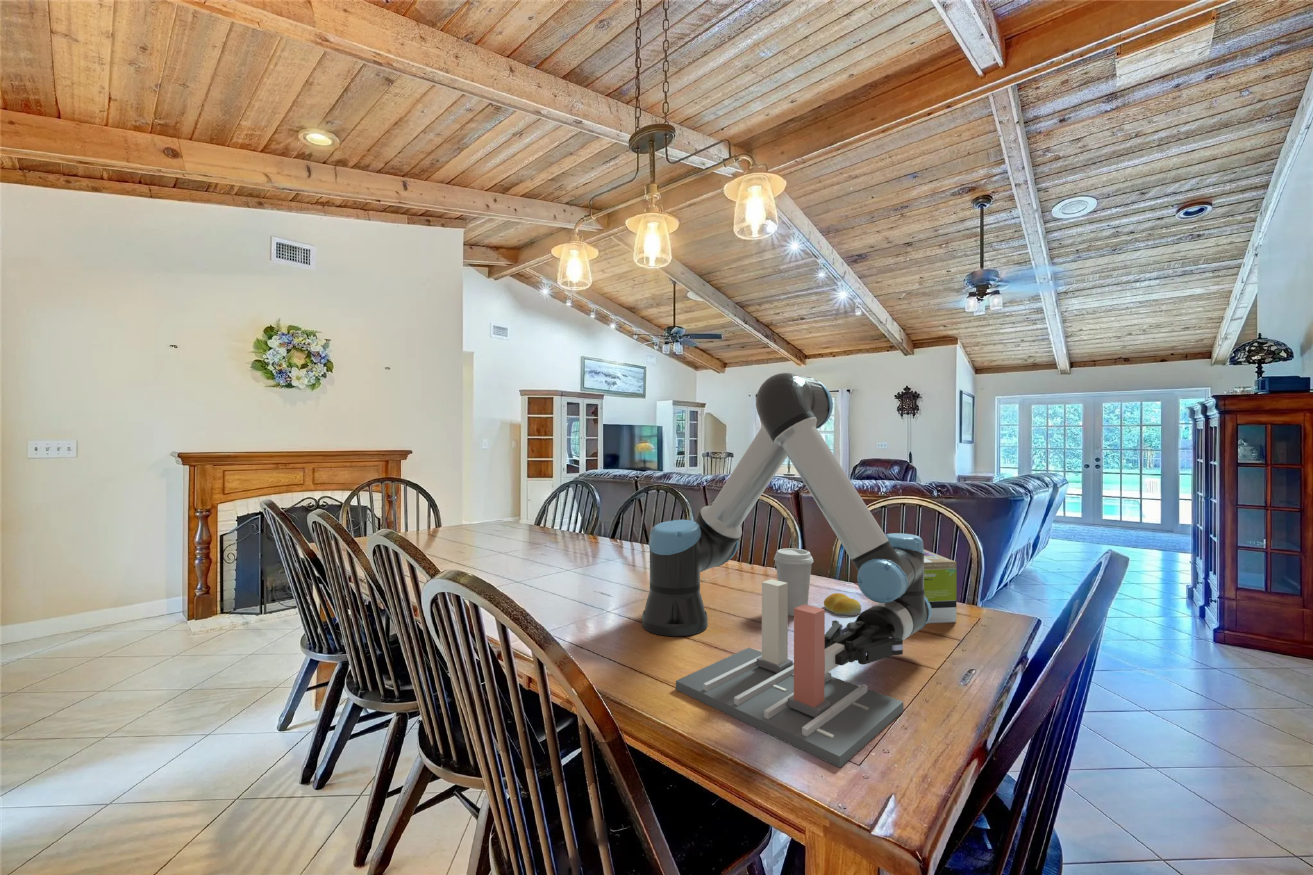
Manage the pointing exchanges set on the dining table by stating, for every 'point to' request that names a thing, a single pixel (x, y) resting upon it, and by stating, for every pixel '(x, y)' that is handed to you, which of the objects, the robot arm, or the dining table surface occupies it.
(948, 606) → the tea box
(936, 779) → the dining table surface
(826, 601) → the yellow rounded lump
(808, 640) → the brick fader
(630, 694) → the dining table surface
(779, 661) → the cream fader
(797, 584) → the coffee cup
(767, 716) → the console
